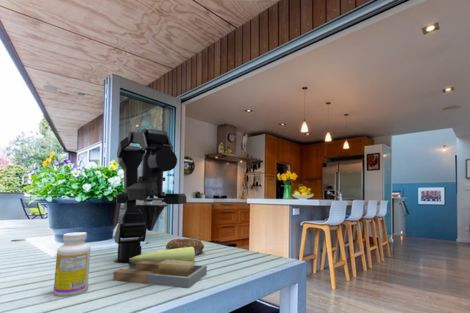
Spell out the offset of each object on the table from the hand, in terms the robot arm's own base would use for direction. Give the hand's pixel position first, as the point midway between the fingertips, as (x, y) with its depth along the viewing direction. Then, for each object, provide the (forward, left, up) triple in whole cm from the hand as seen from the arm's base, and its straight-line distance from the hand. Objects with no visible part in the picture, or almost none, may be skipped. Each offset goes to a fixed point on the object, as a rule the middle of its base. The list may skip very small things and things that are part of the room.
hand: (150, 230), depth 76 cm
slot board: (-1, 0, -12) cm, 12 cm away
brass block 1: (+6, 0, -12) cm, 13 cm away
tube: (+6, +17, -9) cm, 21 cm away
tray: (+9, 0, -12) cm, 15 cm away
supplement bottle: (-10, -15, -12) cm, 22 cm away
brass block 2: (+10, 0, -12) cm, 16 cm away
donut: (-3, +30, -12) cm, 32 cm away
